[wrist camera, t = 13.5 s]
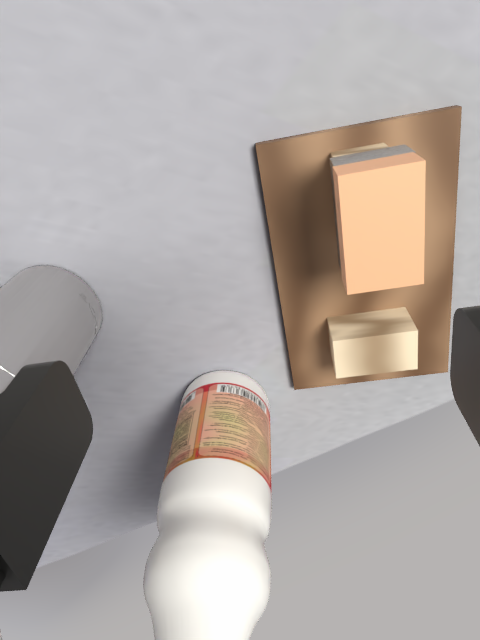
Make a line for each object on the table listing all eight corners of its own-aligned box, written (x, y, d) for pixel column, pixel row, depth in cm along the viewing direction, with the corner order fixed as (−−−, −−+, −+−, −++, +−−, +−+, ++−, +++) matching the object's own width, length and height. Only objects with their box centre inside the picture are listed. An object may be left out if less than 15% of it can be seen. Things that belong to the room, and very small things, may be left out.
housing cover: (332, 166, 29) (337, 175, 27) (413, 151, 29) (425, 160, 26) (341, 278, 33) (347, 294, 31) (413, 268, 32) (423, 283, 30)
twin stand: (293, 383, 48) (296, 416, 43) (255, 143, 36) (254, 156, 31) (444, 365, 46) (463, 398, 41) (456, 105, 34) (484, 113, 30)
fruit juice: (258, 359, 46) (253, 697, 22) (278, 427, 51) (291, 767, 27) (170, 376, 48) (77, 708, 24) (197, 440, 52) (142, 773, 28)
